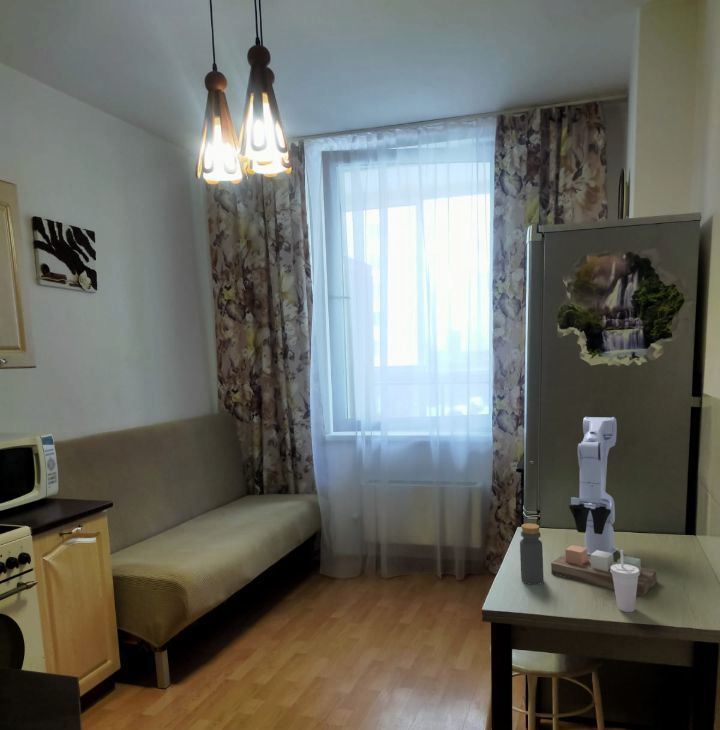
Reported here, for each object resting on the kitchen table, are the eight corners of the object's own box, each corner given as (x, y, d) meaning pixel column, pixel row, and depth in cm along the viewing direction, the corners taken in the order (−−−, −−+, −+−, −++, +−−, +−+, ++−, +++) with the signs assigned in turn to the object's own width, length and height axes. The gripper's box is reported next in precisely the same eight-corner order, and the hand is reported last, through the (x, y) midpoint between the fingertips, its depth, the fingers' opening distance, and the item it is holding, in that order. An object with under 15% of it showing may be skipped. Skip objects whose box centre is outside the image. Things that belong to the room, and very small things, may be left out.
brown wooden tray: (568, 562, 167) (567, 551, 167) (656, 582, 151) (656, 570, 151) (551, 573, 159) (551, 562, 159) (643, 596, 143) (642, 584, 143)
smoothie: (615, 600, 141) (613, 544, 141) (643, 606, 137) (642, 549, 137) (608, 610, 136) (606, 551, 136) (637, 617, 132) (635, 557, 132)
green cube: (623, 570, 153) (623, 555, 153) (641, 574, 150) (640, 559, 150) (617, 575, 150) (617, 560, 150) (635, 579, 147) (635, 563, 147)
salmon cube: (572, 558, 163) (571, 545, 163) (587, 562, 160) (587, 548, 160) (565, 563, 160) (565, 549, 160) (581, 567, 157) (581, 552, 156)
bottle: (533, 586, 151) (531, 530, 151) (516, 579, 156) (514, 525, 156) (548, 581, 154) (546, 526, 154) (530, 574, 159) (529, 521, 159)
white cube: (597, 564, 158) (596, 550, 158) (613, 568, 155) (613, 553, 155) (591, 569, 155) (590, 554, 155) (607, 573, 152) (607, 558, 152)
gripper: (586, 481, 155) (586, 533, 152) (618, 486, 163) (618, 536, 160) (564, 481, 161) (564, 530, 158) (596, 485, 169) (596, 533, 166)
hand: (590, 533), depth 159 cm, fingers open, 7 cm apart
